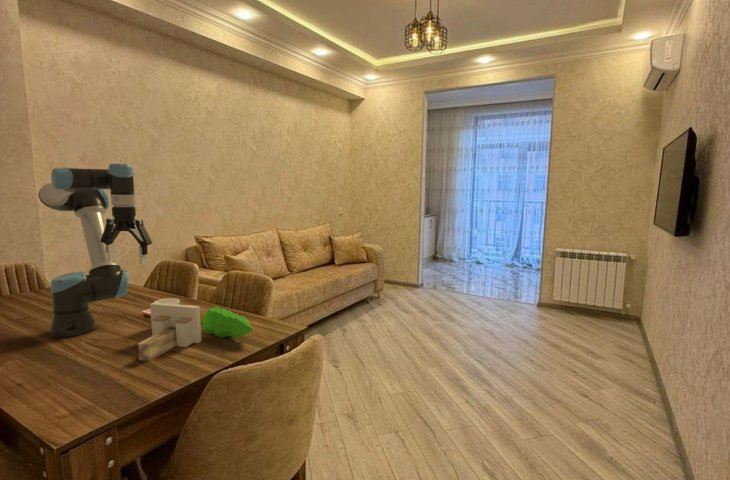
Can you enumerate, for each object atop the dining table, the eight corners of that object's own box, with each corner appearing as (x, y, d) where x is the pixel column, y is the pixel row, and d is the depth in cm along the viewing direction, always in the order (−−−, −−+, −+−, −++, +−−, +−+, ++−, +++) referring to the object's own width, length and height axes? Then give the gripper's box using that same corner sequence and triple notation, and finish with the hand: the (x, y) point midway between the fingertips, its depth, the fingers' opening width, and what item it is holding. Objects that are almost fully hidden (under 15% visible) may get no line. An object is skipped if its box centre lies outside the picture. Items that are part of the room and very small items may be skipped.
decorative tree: (208, 298, 166) (258, 309, 150) (219, 320, 171) (268, 332, 155) (186, 315, 158) (236, 328, 142) (198, 337, 163) (248, 352, 147)
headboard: (144, 342, 151) (142, 307, 149) (156, 336, 157) (153, 302, 155) (191, 347, 147) (189, 311, 145) (201, 341, 153) (199, 306, 151)
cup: (170, 331, 162) (169, 305, 161) (149, 329, 164) (147, 304, 163) (186, 323, 172) (184, 298, 170) (166, 321, 174) (164, 297, 172)
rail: (139, 360, 136) (138, 343, 135) (170, 342, 152) (169, 327, 151) (149, 361, 135) (148, 344, 135) (180, 343, 151) (179, 327, 150)
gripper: (86, 205, 145) (91, 262, 149) (145, 207, 141) (149, 266, 144) (103, 204, 153) (107, 258, 156) (160, 206, 148) (163, 262, 151)
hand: (127, 262), depth 150 cm, fingers open, 13 cm apart
